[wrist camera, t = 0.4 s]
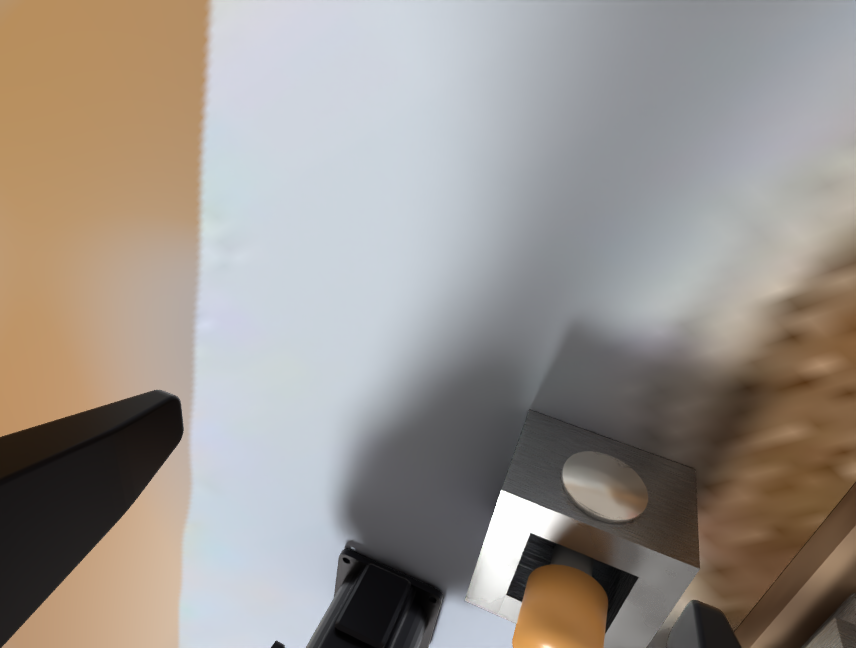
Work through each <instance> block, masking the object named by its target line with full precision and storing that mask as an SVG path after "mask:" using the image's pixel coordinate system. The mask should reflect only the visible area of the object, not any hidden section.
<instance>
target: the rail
mask: <svg viewBox="0 0 856 648" xmlns="http://www.w3.org/2000/svg"><path fill="white" fill-rule="evenodd" d="M853 592H854V593H856V483H855V484H854V485H853V487H852V488H851V489H850V490H849V492H848V493H847V494H846V495H845V497H844V498H843V499H842V500H841V501H840V503H839V504H838V505H837V506H836V508H835V509H834V510H833V511H832V513H831V514H830V515H829V516H828V517H827V519H826V520H825V521H824V522H823V524H822V525H821V526H820V527H819V528H818V530H817V531H816V532H815V533H814V535H813V536H812V537H811V538H810V540H809V541H808V542H807V543H806V544H805V546H804V547H803V548H802V549H801V551H800V552H799V553H798V554H797V556H796V557H795V558H794V559H793V560H792V562H791V563H790V564H789V565H788V567H787V568H786V569H785V570H784V572H783V573H782V574H781V575H780V576H779V578H778V579H777V580H776V581H775V583H774V584H773V585H772V586H771V587H770V589H769V590H768V591H767V592H766V594H765V595H764V596H763V597H762V599H761V600H760V601H759V602H758V603H757V605H756V606H755V607H754V608H753V610H752V611H751V612H750V613H749V615H748V616H747V617H746V618H745V619H744V621H743V622H742V623H741V624H740V626H739V627H738V628H737V629H736V630H735V632H734V633H735V635H736V637H737V639H738V641H739V643H740V645H741V647H742V648H800V647H801V646H802V645H803V644H804V643H805V642H806V641H807V640H808V639H809V638H810V637H811V636H812V635H813V634H814V633H815V632H816V631H817V630H818V629H819V628H820V626H821V625H822V624H823V623H824V622H825V621H826V620H827V619H828V618H829V617H830V616H831V615H832V614H833V613H834V612H835V611H836V610H837V609H838V608H839V607H840V606H841V604H842V603H843V602H844V601H845V600H846V599H847V598H848V597H849V596H850V595H851V594H852V593H853Z"/></svg>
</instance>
